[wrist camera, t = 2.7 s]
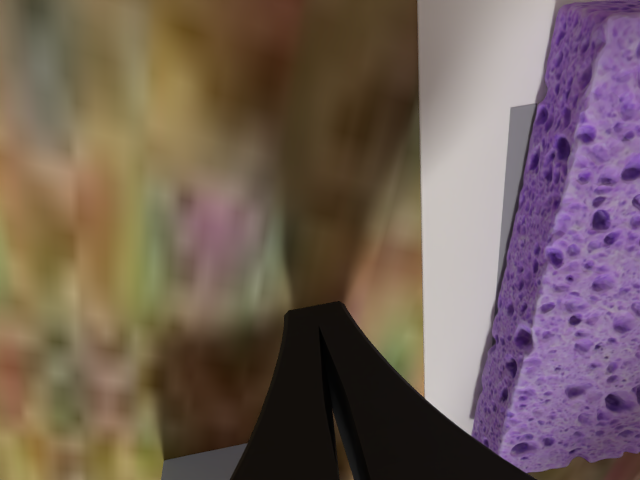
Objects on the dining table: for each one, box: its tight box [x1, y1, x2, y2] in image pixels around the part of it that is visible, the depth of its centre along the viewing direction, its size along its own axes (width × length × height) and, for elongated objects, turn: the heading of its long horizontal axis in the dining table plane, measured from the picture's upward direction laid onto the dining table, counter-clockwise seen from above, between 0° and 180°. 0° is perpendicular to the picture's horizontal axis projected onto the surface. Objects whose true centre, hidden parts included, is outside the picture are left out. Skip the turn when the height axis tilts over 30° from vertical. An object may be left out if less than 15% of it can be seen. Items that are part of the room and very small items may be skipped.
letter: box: [417, 0, 606, 435], centre depth 13 cm, size 15×11×1 cm
